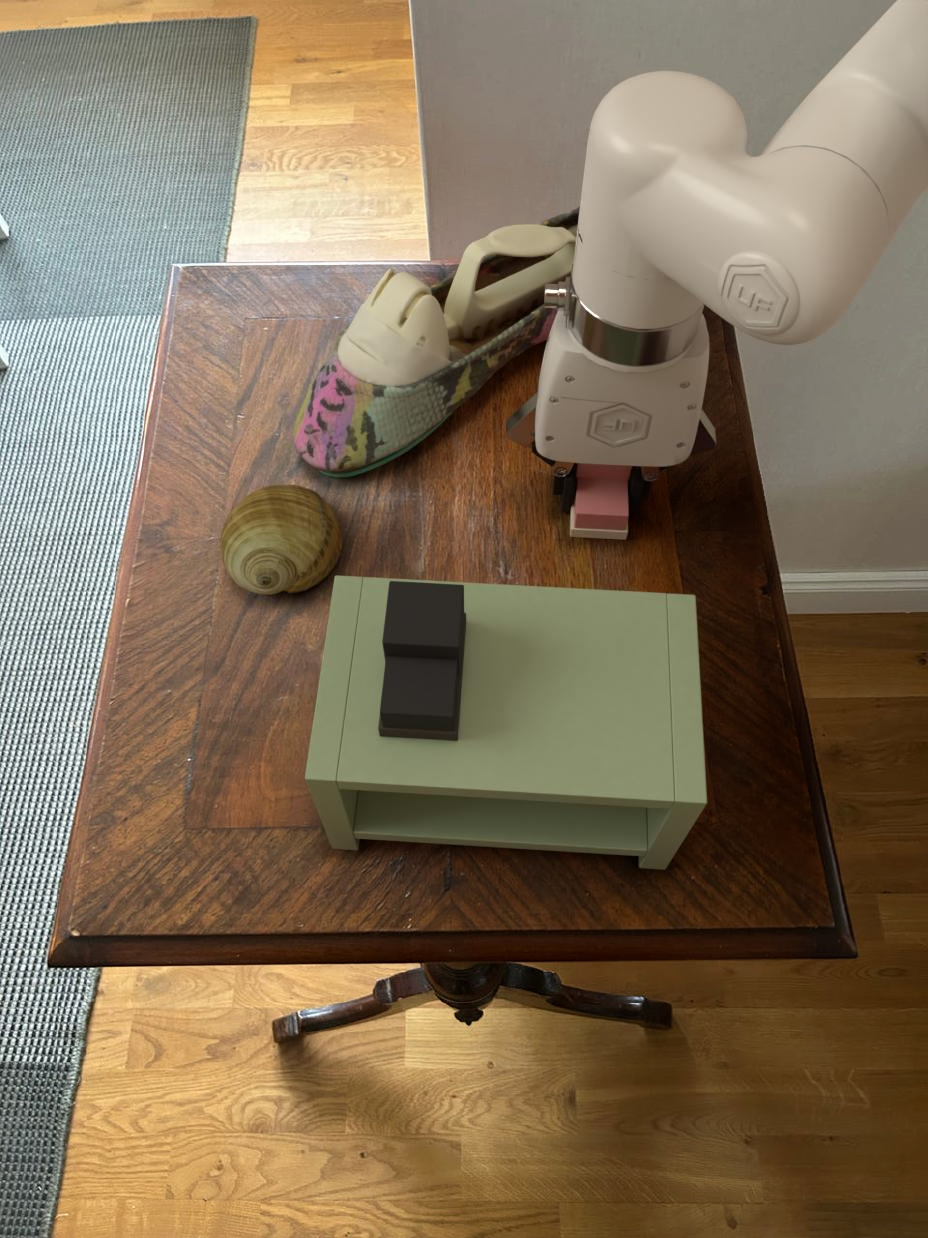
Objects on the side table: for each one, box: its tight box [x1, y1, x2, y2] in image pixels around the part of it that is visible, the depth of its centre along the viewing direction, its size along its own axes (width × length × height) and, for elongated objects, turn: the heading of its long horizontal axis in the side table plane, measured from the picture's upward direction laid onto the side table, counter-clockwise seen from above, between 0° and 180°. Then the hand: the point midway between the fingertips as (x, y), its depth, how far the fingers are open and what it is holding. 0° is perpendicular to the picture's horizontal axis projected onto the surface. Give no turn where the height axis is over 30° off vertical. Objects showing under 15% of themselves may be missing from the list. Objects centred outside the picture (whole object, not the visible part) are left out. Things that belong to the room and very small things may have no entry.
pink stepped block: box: [569, 463, 632, 541], centre depth 72 cm, size 7×4×4 cm, turn 176°
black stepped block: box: [378, 581, 466, 741], centre depth 51 cm, size 7×4×4 cm, turn 176°
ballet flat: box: [294, 205, 580, 478], centre depth 75 cm, size 10×30×11 cm, turn 129°
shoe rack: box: [304, 575, 708, 871], centre depth 58 cm, size 20×12×12 cm, turn 86°
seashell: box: [219, 484, 343, 596], centre depth 69 cm, size 10×7×8 cm
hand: (598, 496), depth 73 cm, fingers closed on pink stepped block, 4 cm apart
